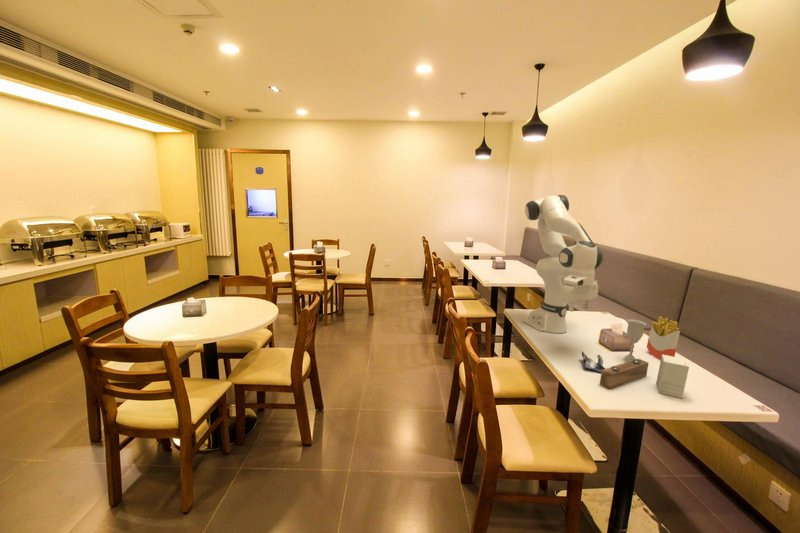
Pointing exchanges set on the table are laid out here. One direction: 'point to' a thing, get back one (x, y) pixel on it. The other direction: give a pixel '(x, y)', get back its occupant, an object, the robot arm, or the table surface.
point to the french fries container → (663, 338)
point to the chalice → (634, 336)
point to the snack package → (597, 366)
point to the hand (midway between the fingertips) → (578, 309)
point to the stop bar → (623, 373)
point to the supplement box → (672, 376)
